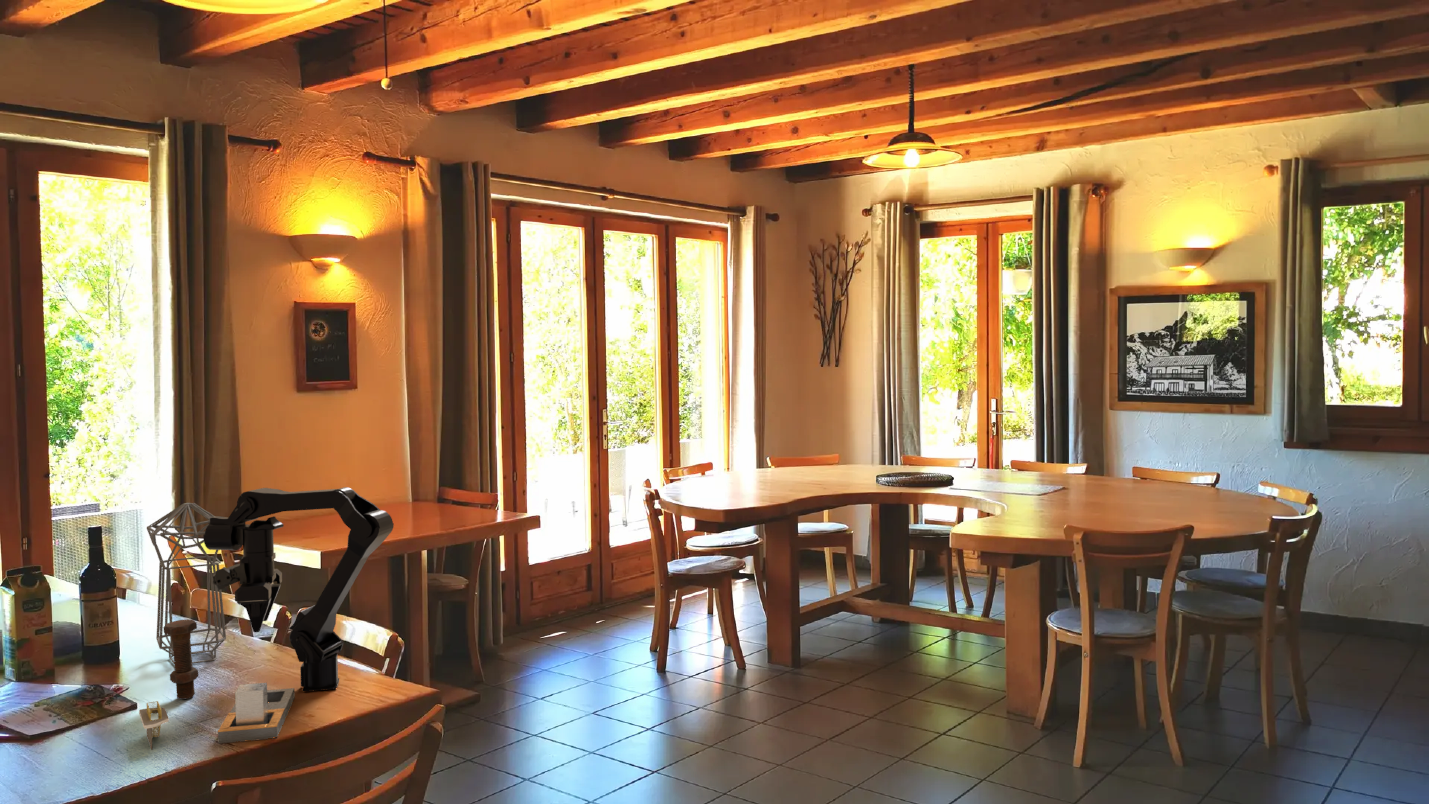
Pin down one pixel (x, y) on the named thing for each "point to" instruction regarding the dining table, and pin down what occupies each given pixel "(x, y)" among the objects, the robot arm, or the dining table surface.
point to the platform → (152, 724)
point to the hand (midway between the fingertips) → (260, 626)
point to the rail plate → (276, 716)
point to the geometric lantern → (158, 528)
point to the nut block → (251, 704)
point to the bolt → (182, 657)
